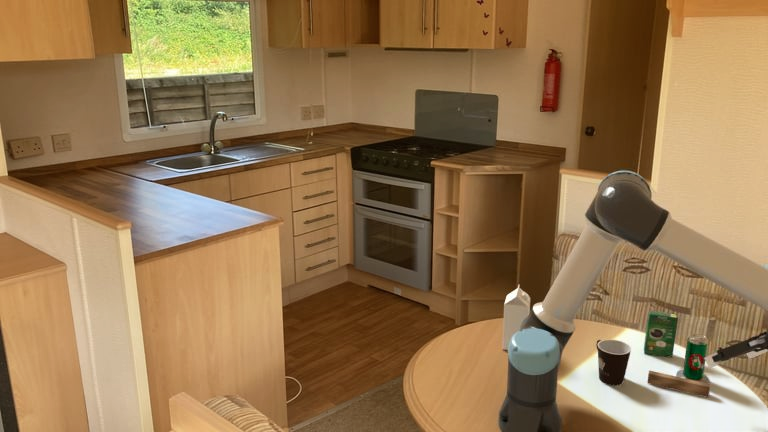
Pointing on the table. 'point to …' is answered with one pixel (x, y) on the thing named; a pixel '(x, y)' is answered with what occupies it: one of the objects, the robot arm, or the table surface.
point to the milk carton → (514, 314)
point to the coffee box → (660, 333)
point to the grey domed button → (680, 374)
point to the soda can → (695, 357)
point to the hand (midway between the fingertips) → (727, 358)
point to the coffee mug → (612, 361)
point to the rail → (678, 383)
